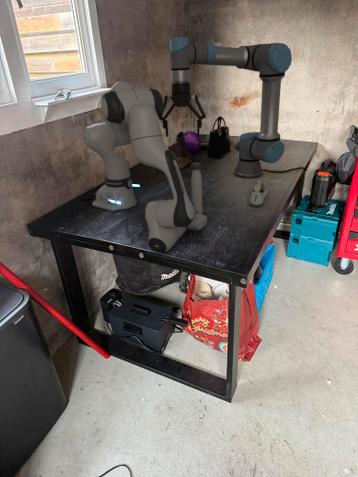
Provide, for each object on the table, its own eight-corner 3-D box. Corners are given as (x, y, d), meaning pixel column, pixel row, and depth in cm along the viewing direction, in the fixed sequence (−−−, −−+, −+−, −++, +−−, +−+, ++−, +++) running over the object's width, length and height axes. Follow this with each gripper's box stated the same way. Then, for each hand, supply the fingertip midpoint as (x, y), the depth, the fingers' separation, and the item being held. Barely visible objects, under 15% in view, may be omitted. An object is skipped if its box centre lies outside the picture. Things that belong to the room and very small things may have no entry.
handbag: (218, 159, 217) (218, 119, 204) (206, 157, 221) (205, 119, 209) (231, 151, 232) (232, 114, 219) (219, 150, 236) (220, 113, 224)
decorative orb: (204, 151, 235) (204, 129, 228) (194, 156, 225) (193, 134, 217) (186, 149, 243) (186, 128, 235) (175, 154, 232) (174, 132, 224)
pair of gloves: (199, 151, 237) (198, 143, 234) (184, 143, 257) (184, 136, 255) (235, 144, 246) (235, 137, 244) (218, 138, 267) (218, 131, 264)
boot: (194, 157, 223) (193, 127, 213) (188, 169, 203) (187, 135, 193) (182, 157, 225) (180, 127, 215) (174, 168, 205) (172, 136, 194)
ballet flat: (269, 188, 169) (270, 173, 165) (265, 208, 149) (266, 191, 145) (252, 187, 171) (253, 172, 167) (246, 206, 151) (247, 190, 147)
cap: (198, 166, 140) (198, 161, 139) (203, 169, 137) (202, 163, 136) (189, 168, 139) (189, 163, 138) (193, 170, 135) (193, 165, 134)
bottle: (199, 210, 151) (198, 162, 139) (204, 214, 147) (203, 164, 136) (190, 212, 149) (189, 163, 138) (195, 216, 146) (193, 166, 134)
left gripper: (200, 222, 121) (212, 207, 132) (151, 214, 129) (166, 201, 140) (200, 237, 125) (212, 221, 135) (152, 228, 132) (167, 214, 143)
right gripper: (211, 80, 134) (211, 133, 145) (151, 82, 137) (155, 134, 147) (211, 81, 128) (211, 137, 138) (148, 84, 130) (152, 138, 141)
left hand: (188, 210), depth 138 cm, fingers open, 8 cm apart
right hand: (182, 136), depth 143 cm, fingers open, 13 cm apart
